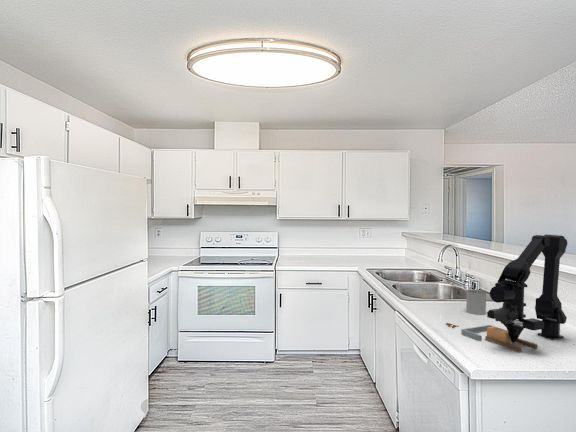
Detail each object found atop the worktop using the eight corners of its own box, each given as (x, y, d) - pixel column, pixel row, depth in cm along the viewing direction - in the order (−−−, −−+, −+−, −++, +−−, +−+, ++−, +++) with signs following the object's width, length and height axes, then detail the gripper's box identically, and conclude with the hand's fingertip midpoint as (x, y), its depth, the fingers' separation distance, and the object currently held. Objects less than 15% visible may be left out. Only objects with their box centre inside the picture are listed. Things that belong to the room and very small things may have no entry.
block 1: (493, 336, 160) (494, 326, 159) (503, 339, 156) (503, 329, 156) (486, 337, 158) (487, 327, 158) (495, 341, 154) (496, 330, 154)
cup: (486, 315, 190) (487, 294, 190) (467, 313, 192) (467, 292, 192) (484, 311, 198) (484, 290, 198) (465, 309, 200) (466, 289, 200)
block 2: (503, 339, 156) (503, 329, 156) (512, 343, 152) (513, 332, 152) (495, 341, 154) (496, 330, 154) (505, 344, 151) (505, 333, 150)
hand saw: (407, 316, 189) (407, 314, 189) (414, 314, 192) (414, 313, 192) (453, 329, 169) (453, 328, 169) (460, 327, 172) (460, 326, 172)
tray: (489, 329, 168) (489, 324, 168) (508, 336, 160) (508, 331, 160) (461, 334, 162) (461, 329, 162) (480, 341, 154) (480, 335, 154)
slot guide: (502, 336, 159) (502, 333, 159) (537, 348, 147) (537, 344, 146) (485, 339, 155) (485, 336, 155) (519, 352, 143) (519, 348, 143)
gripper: (477, 296, 154) (476, 337, 155) (524, 307, 137) (522, 354, 138) (497, 294, 159) (496, 334, 160) (545, 304, 142) (544, 349, 143)
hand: (513, 342), depth 150 cm, fingers closed
